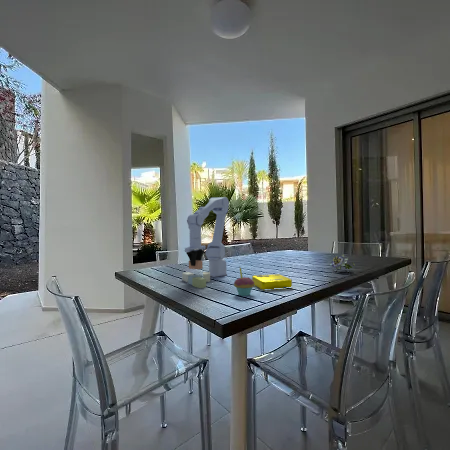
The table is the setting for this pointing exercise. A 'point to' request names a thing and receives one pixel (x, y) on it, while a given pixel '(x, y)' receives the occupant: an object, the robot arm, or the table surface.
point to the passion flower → (340, 262)
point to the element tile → (271, 281)
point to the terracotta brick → (196, 265)
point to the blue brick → (192, 277)
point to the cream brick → (206, 276)
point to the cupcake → (244, 285)
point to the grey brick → (186, 276)
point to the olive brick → (199, 282)
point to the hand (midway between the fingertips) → (195, 265)
